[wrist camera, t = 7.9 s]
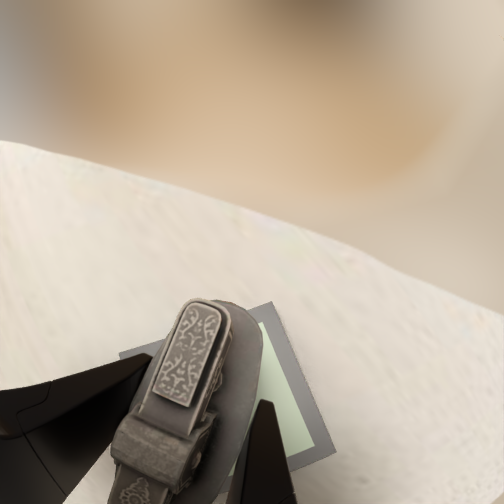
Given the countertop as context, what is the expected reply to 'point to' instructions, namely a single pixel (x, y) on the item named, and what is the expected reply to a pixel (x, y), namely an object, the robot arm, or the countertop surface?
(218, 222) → the countertop surface
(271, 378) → the baseplate
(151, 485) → the lighter
